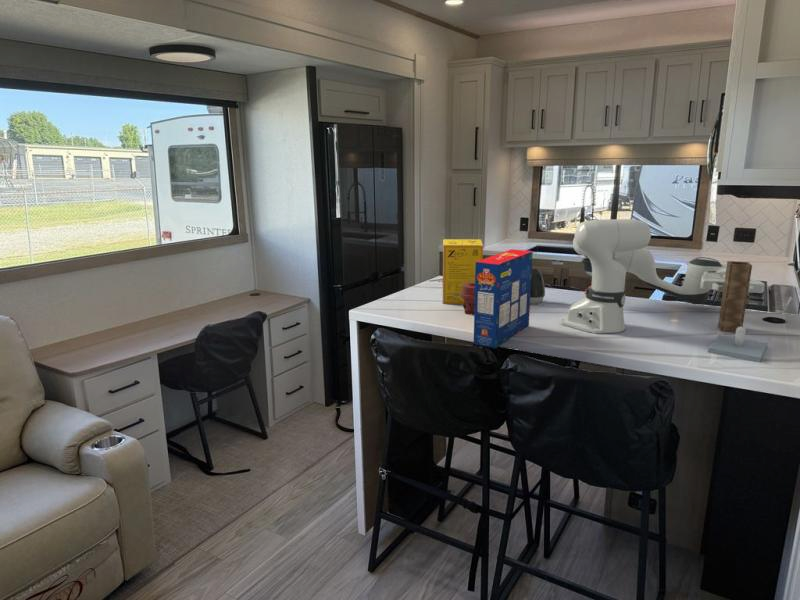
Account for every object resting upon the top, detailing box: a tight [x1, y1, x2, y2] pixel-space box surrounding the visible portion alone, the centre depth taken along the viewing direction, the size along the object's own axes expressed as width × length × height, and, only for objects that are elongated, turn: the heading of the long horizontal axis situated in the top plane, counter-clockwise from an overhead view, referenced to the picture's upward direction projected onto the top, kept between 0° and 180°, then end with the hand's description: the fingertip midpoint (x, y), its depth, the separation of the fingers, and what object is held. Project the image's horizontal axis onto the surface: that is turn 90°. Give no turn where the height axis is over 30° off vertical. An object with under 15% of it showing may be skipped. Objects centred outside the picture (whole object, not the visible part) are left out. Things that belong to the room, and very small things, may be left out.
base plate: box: [707, 327, 768, 363], centre depth 176 cm, size 14×16×8 cm
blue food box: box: [473, 248, 534, 349], centre depth 191 cm, size 28×8×28 cm, turn 145°
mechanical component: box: [460, 282, 475, 315], centre depth 220 cm, size 12×10×10 cm
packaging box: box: [442, 238, 484, 305], centre depth 239 cm, size 16×16×25 cm
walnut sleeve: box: [717, 260, 753, 334], centre depth 194 cm, size 6×6×24 cm
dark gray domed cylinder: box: [530, 266, 546, 305], centre depth 233 cm, size 10×10×15 cm
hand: (734, 289), depth 197 cm, fingers open, 8 cm apart
